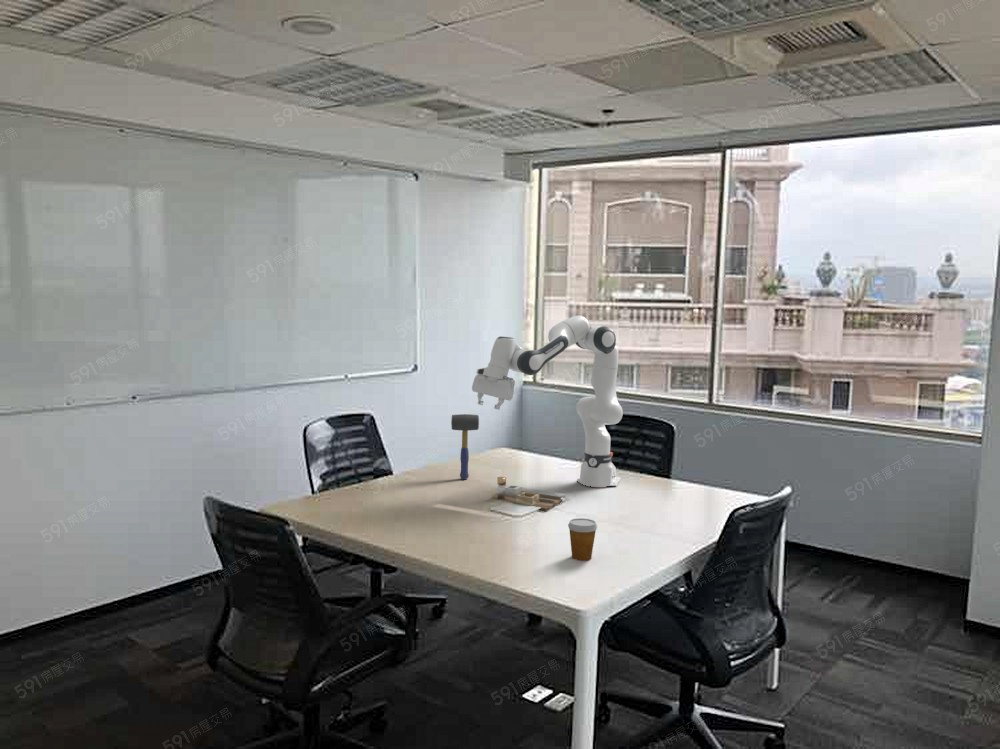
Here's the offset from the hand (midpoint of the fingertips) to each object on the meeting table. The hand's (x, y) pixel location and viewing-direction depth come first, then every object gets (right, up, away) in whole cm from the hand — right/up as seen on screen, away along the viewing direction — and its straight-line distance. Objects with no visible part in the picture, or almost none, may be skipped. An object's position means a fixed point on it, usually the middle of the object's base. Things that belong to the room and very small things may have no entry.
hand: (488, 406), depth 329 cm
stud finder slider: (+9, -36, +6) cm, 38 cm away
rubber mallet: (-11, -35, +36) cm, 51 cm away
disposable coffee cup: (+32, -47, -67) cm, 88 cm away
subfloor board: (+15, -39, -1) cm, 42 cm away
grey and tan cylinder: (+5, -37, -1) cm, 38 cm away
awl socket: (+16, -38, -6) cm, 42 cm away
